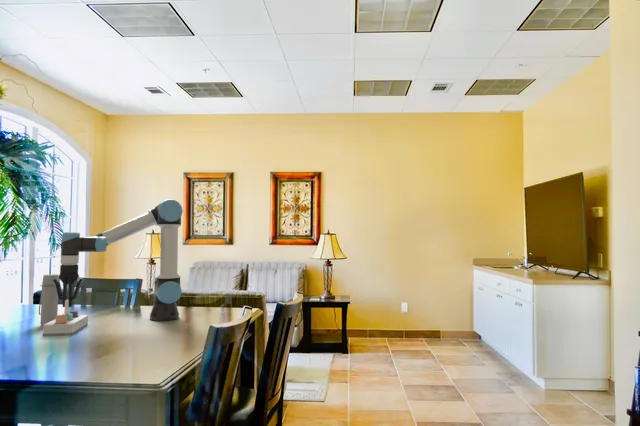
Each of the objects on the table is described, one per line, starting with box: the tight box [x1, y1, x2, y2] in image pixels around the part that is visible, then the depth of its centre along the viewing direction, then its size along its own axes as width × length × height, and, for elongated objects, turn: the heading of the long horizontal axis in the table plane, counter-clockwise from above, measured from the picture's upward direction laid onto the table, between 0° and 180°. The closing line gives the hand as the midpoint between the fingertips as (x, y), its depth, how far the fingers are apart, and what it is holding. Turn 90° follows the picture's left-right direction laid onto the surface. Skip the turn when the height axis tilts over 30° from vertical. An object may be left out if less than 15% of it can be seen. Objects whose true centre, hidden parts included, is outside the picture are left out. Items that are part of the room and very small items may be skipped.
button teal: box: [61, 313, 73, 321], centre depth 204 cm, size 4×4×5 cm
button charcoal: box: [70, 310, 79, 318], centre depth 212 cm, size 4×4×5 cm
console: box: [42, 314, 89, 337], centre depth 204 cm, size 12×22×5 cm, turn 12°
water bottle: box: [38, 273, 60, 327], centre depth 216 cm, size 9×8×25 cm
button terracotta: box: [55, 314, 67, 324], centre depth 197 cm, size 4×4×5 cm
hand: (67, 313), depth 204 cm, fingers closed
